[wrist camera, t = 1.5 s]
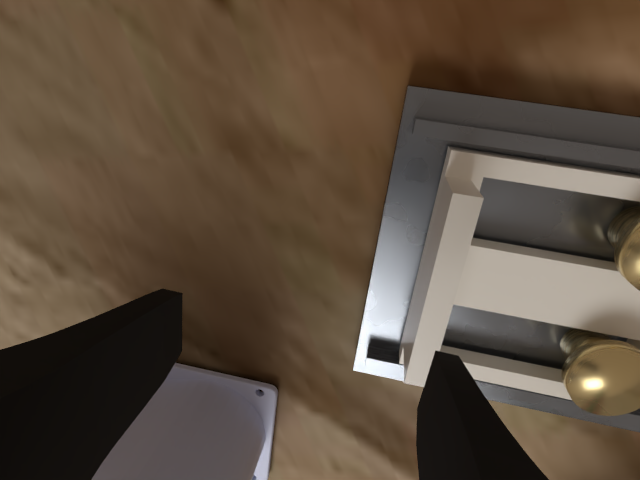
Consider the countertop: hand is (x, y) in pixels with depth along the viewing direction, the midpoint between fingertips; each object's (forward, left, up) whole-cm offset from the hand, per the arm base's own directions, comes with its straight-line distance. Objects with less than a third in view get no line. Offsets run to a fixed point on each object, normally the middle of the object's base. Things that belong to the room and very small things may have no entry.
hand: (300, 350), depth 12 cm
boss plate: (+11, 0, -10) cm, 14 cm away
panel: (+9, 0, -8) cm, 12 cm away
